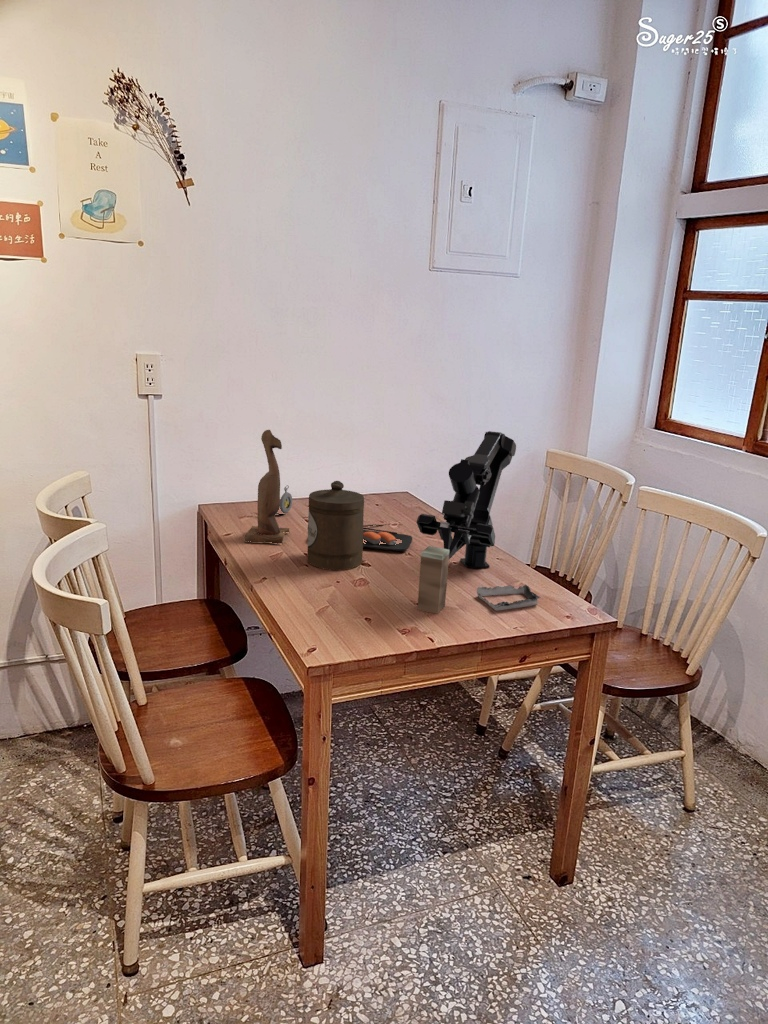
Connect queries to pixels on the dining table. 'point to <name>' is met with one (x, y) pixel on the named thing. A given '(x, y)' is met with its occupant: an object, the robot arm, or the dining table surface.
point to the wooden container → (335, 528)
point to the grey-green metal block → (433, 579)
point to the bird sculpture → (268, 498)
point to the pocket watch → (285, 501)
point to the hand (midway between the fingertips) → (445, 559)
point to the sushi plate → (385, 539)
